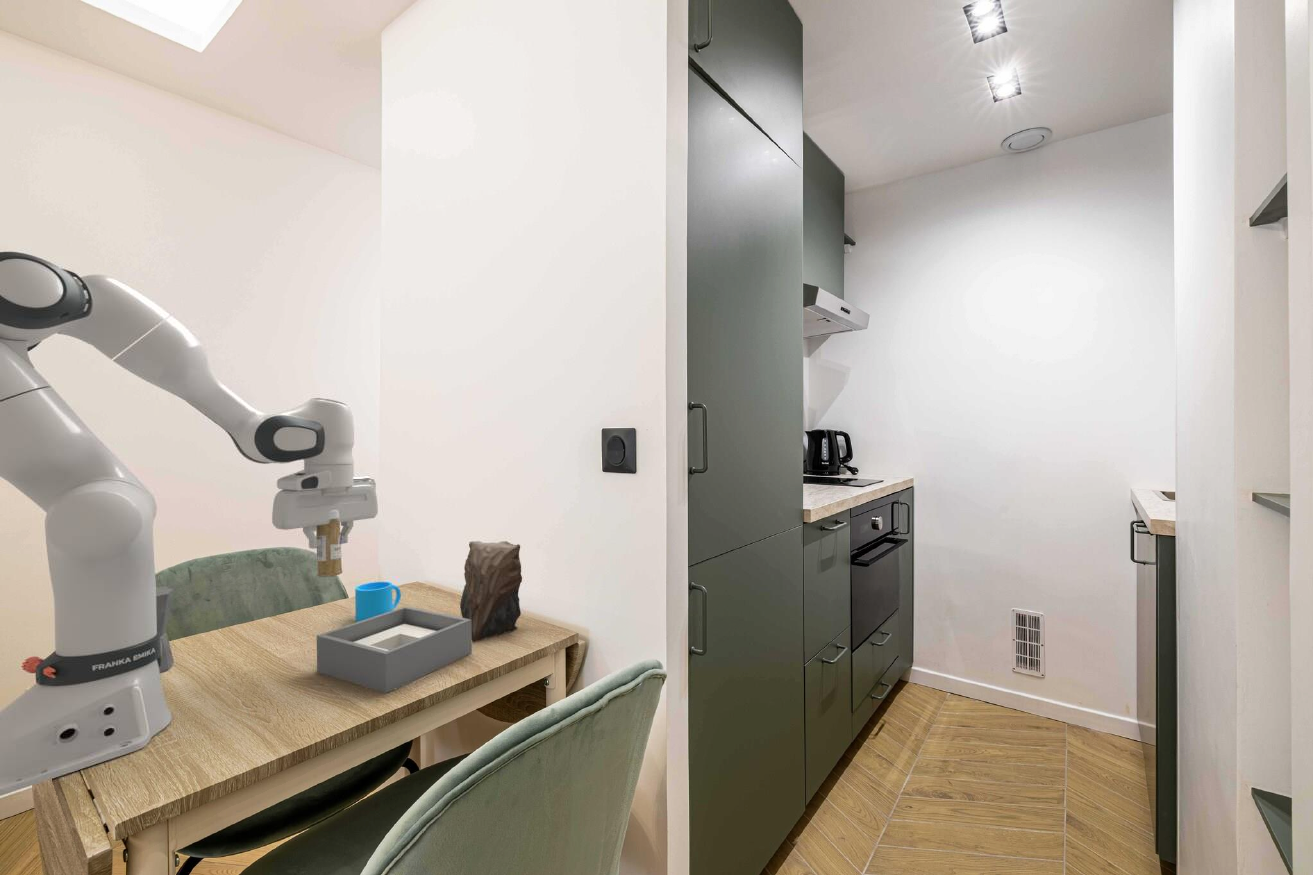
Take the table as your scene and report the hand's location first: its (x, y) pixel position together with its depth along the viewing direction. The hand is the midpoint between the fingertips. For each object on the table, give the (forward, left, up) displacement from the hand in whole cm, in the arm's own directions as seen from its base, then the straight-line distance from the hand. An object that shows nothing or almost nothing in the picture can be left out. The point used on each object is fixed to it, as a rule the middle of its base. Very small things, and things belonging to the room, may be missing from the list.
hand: (328, 545), depth 115 cm
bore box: (+4, -15, -23) cm, 28 cm away
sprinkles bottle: (0, 0, -6) cm, 6 cm away
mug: (+21, +13, -23) cm, 34 cm away
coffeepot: (-22, +25, -23) cm, 40 cm away
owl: (+25, -18, -23) cm, 39 cm away
